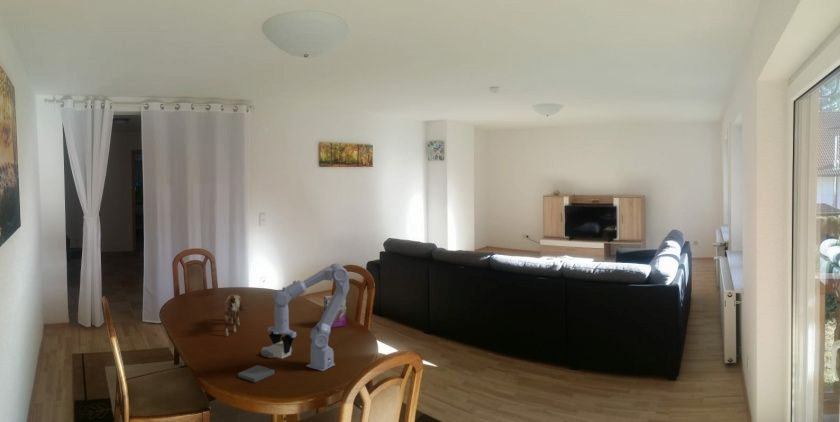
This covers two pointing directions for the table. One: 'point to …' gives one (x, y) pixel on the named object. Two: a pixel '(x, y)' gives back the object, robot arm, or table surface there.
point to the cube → (280, 350)
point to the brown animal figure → (232, 310)
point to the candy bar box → (341, 315)
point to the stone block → (269, 351)
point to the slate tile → (256, 373)
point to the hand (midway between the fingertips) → (282, 351)
